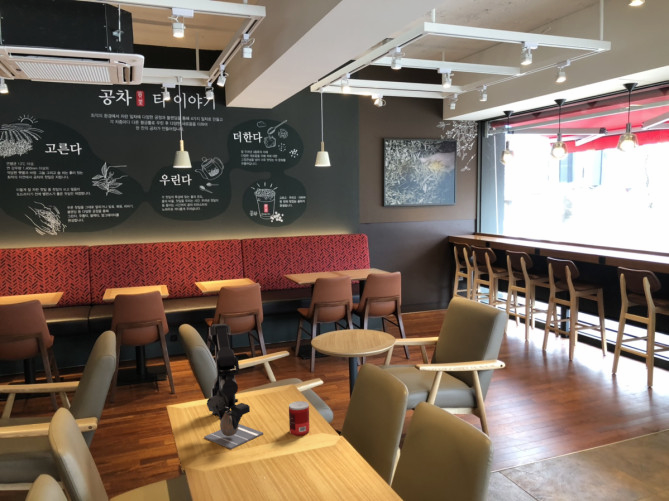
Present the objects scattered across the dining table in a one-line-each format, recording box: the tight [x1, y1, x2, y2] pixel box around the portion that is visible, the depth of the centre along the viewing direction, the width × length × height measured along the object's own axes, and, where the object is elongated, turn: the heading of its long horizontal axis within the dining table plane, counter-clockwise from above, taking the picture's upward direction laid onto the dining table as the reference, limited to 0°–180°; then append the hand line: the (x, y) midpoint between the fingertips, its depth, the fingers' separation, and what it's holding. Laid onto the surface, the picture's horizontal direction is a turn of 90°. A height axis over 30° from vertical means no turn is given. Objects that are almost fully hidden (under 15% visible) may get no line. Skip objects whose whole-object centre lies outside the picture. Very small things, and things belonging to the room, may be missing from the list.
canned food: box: [288, 400, 310, 437], centre depth 206 cm, size 8×8×11 cm
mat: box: [203, 423, 264, 450], centre depth 204 cm, size 16×16×1 cm
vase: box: [219, 410, 240, 436], centre depth 200 cm, size 7×7×9 cm
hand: (229, 427), depth 201 cm, fingers closed on vase, 6 cm apart
